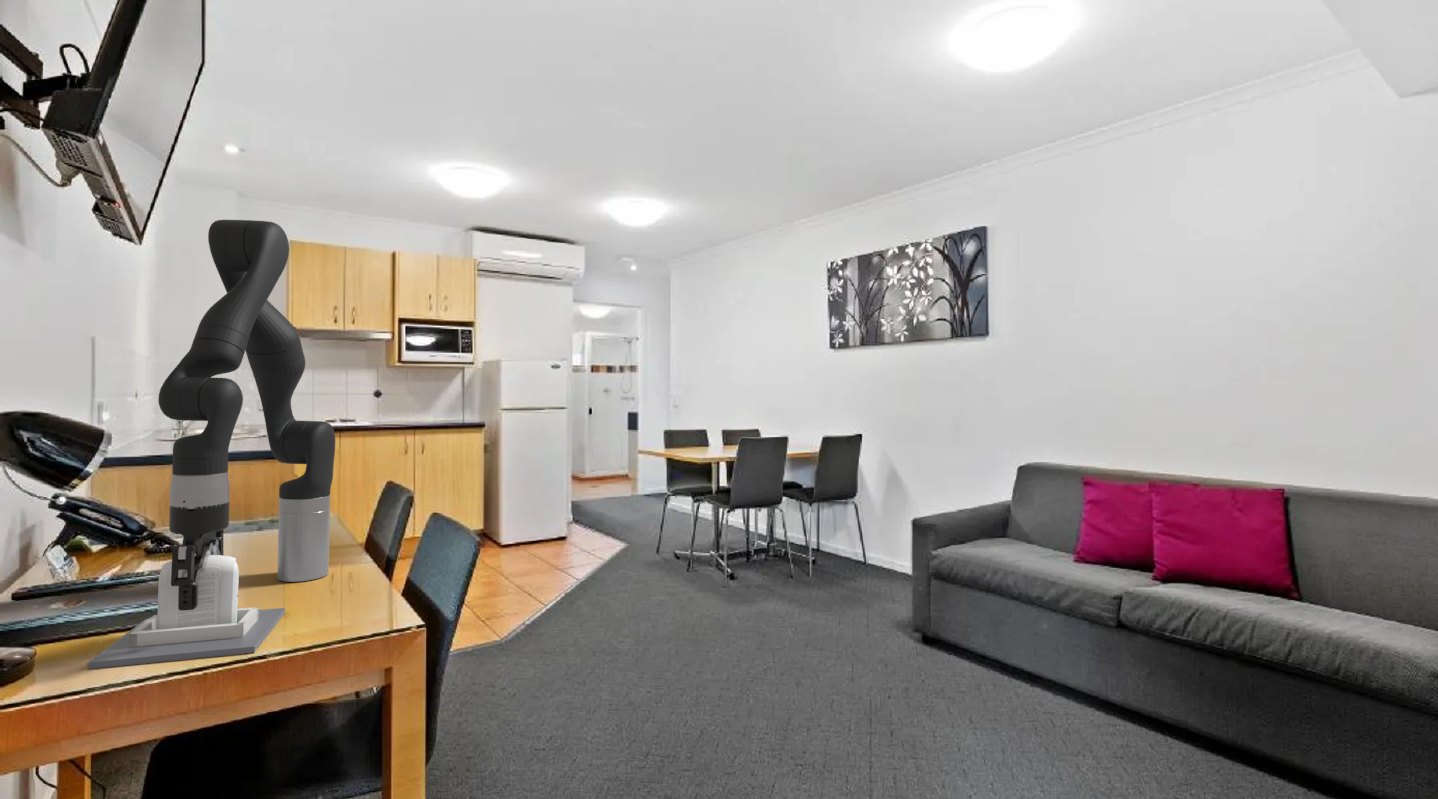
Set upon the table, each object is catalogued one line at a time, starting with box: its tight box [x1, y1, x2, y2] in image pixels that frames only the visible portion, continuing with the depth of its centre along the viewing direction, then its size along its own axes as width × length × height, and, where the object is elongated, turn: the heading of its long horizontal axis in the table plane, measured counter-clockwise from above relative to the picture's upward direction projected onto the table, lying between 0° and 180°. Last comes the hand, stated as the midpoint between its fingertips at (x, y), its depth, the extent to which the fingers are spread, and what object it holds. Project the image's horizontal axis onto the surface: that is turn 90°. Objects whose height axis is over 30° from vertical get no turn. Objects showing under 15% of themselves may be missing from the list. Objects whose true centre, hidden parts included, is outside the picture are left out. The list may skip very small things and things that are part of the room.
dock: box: [87, 606, 286, 670], centre depth 105 cm, size 18×20×3 cm
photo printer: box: [156, 555, 240, 630], centre depth 105 cm, size 10×4×12 cm, turn 121°
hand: (198, 600), depth 105 cm, fingers open, 8 cm apart
